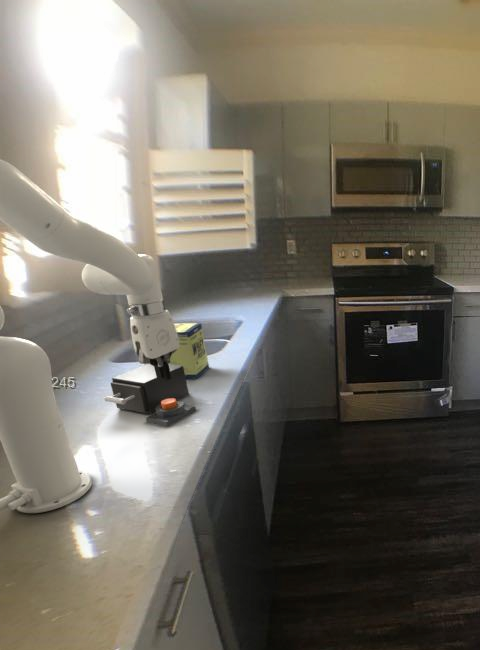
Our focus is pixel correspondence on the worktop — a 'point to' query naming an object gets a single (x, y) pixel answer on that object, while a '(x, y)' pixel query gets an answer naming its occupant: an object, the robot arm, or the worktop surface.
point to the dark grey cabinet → (157, 384)
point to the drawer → (128, 397)
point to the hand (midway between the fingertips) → (164, 379)
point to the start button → (169, 403)
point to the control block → (170, 414)
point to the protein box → (190, 350)
